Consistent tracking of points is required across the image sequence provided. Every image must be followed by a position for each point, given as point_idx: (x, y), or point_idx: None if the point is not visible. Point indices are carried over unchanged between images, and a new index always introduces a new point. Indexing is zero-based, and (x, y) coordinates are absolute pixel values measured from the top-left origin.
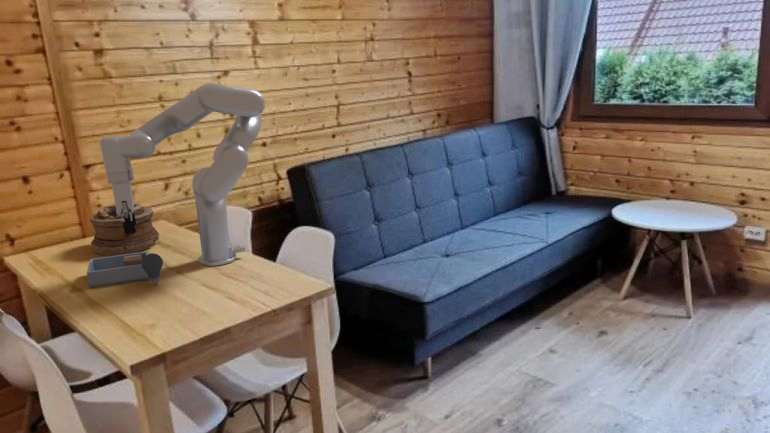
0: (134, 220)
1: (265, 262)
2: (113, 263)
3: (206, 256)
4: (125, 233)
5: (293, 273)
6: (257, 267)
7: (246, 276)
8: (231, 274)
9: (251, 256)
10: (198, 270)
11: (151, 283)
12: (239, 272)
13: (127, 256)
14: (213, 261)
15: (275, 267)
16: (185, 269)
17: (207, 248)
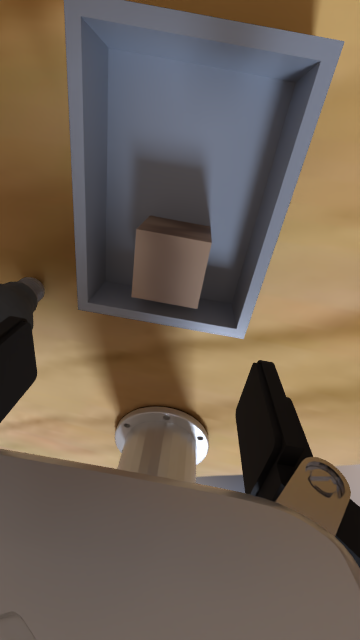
0: (239, 438)
1: None
2: (273, 185)
3: (137, 434)
4: (7, 322)
5: None
6: None
7: (24, 441)
8: (47, 428)
9: None
10: (108, 392)
11: (25, 277)
12: (53, 440)
13: (201, 256)
14: (128, 431)
15: None
16: (134, 373)
17: (126, 459)
